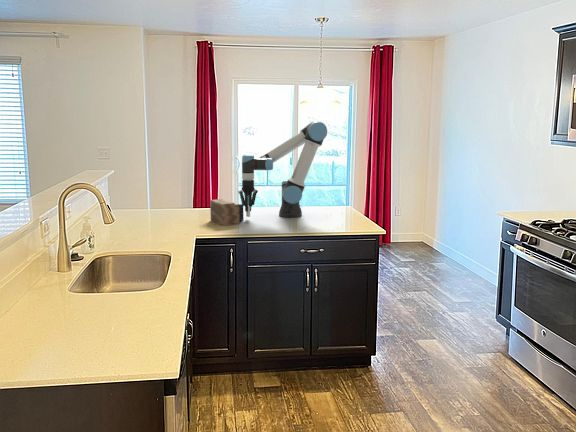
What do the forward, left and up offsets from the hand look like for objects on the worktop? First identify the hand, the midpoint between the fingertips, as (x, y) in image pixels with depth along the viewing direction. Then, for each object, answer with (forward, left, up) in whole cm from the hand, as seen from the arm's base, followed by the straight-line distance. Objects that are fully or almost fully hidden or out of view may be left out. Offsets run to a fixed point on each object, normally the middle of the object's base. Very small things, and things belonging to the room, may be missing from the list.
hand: (248, 216), depth 370 cm
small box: (+9, -1, -2) cm, 10 cm away
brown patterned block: (+17, 0, -2) cm, 17 cm away
